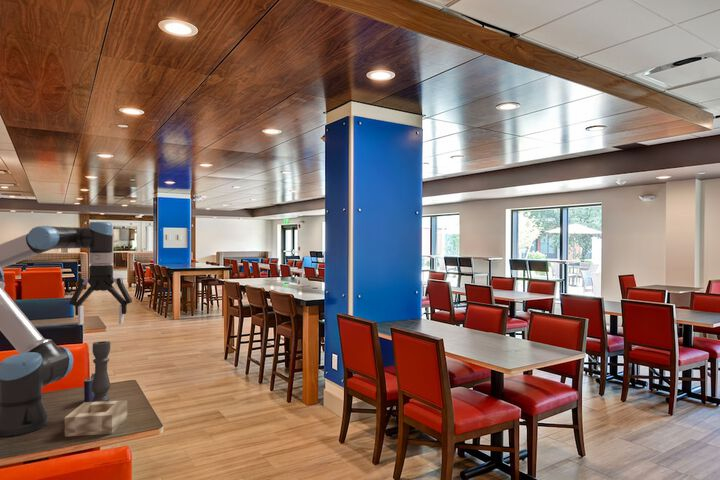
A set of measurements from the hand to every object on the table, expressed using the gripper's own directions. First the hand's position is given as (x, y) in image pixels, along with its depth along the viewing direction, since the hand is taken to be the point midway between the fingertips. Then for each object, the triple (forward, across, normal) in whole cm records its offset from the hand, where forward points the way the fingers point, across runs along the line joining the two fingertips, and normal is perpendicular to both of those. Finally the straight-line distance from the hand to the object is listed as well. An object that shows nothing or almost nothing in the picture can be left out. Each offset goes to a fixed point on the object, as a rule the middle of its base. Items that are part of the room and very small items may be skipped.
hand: (101, 323), depth 167 cm
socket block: (+32, +4, -13) cm, 35 cm away
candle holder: (+32, 0, 0) cm, 32 cm away
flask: (+32, -8, +14) cm, 36 cm away
